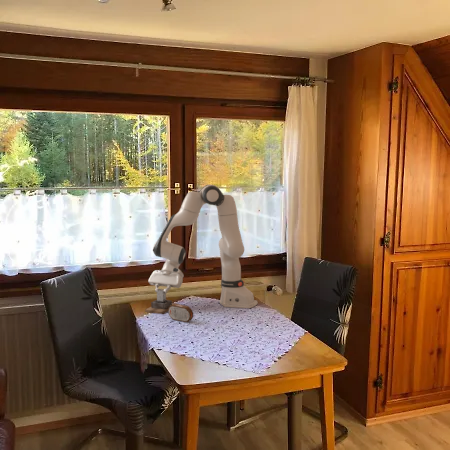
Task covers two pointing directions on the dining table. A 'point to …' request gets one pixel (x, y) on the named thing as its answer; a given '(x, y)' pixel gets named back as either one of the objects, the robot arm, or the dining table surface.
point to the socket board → (159, 307)
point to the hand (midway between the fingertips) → (160, 292)
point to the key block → (161, 296)
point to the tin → (180, 312)
